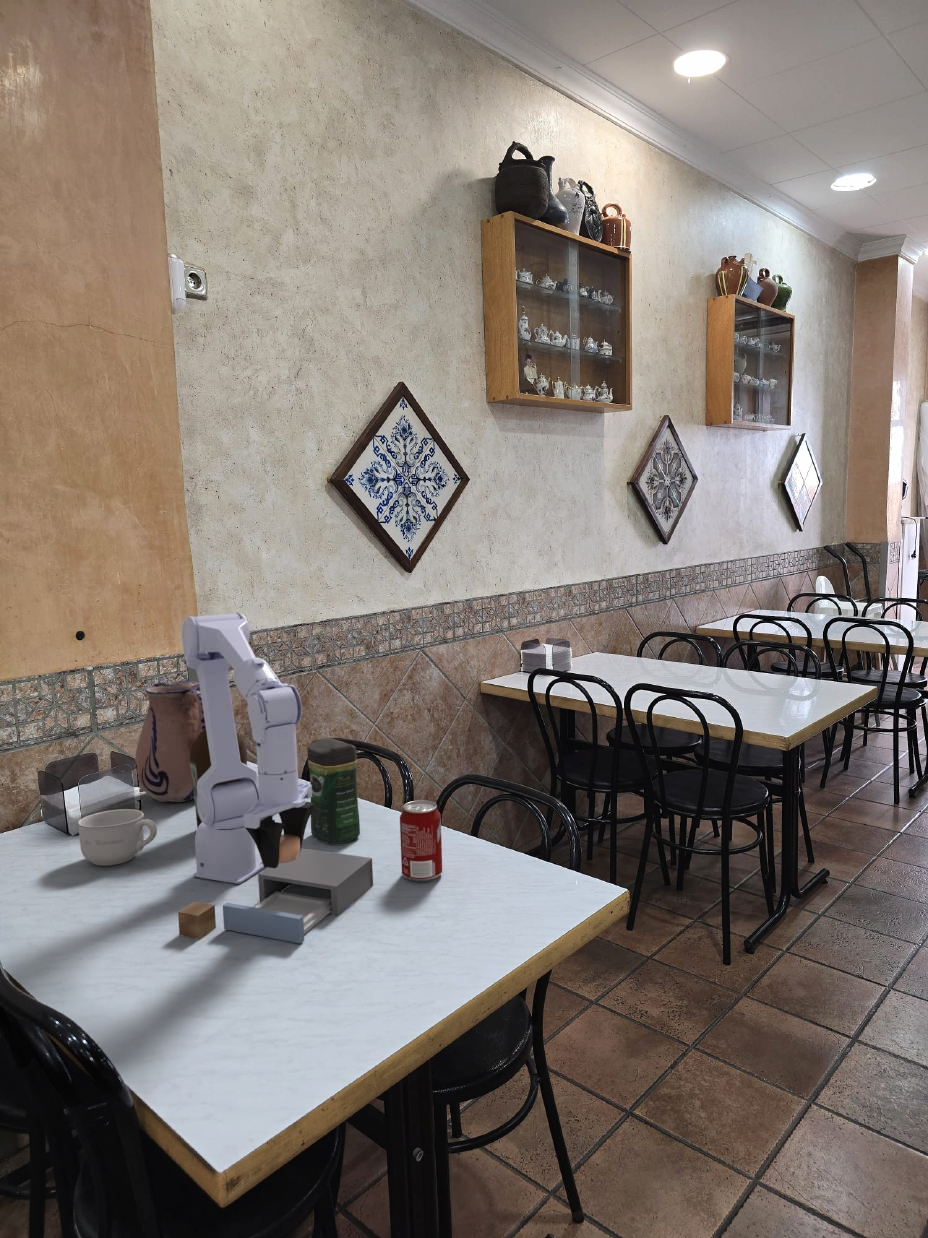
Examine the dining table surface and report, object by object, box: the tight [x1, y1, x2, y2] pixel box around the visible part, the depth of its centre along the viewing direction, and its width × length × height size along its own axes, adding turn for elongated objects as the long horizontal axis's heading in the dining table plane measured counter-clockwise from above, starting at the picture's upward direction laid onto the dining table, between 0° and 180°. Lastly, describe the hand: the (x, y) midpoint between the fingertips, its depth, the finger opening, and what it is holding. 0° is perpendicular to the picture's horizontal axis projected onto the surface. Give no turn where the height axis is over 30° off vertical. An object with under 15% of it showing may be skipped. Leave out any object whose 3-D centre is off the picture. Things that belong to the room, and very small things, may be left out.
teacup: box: [77, 808, 158, 867], centre depth 146 cm, size 14×11×8 cm
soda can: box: [399, 799, 443, 883], centre depth 136 cm, size 7×7×12 cm
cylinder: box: [278, 833, 300, 864], centre depth 122 cm, size 5×5×2 cm
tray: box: [222, 891, 332, 944], centre depth 122 cm, size 13×11×4 cm
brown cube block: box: [177, 901, 217, 940], centre depth 119 cm, size 4×4×4 cm
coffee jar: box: [307, 737, 361, 845], centre depth 155 cm, size 10×8×19 cm
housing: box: [257, 847, 374, 917], centre depth 131 cm, size 14×11×5 cm
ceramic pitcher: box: [134, 680, 206, 803], centre depth 180 cm, size 18×21×25 cm
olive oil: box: [190, 727, 248, 830], centre depth 159 cm, size 11×11×25 cm
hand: (282, 859), depth 122 cm, fingers closed on cylinder, 5 cm apart
